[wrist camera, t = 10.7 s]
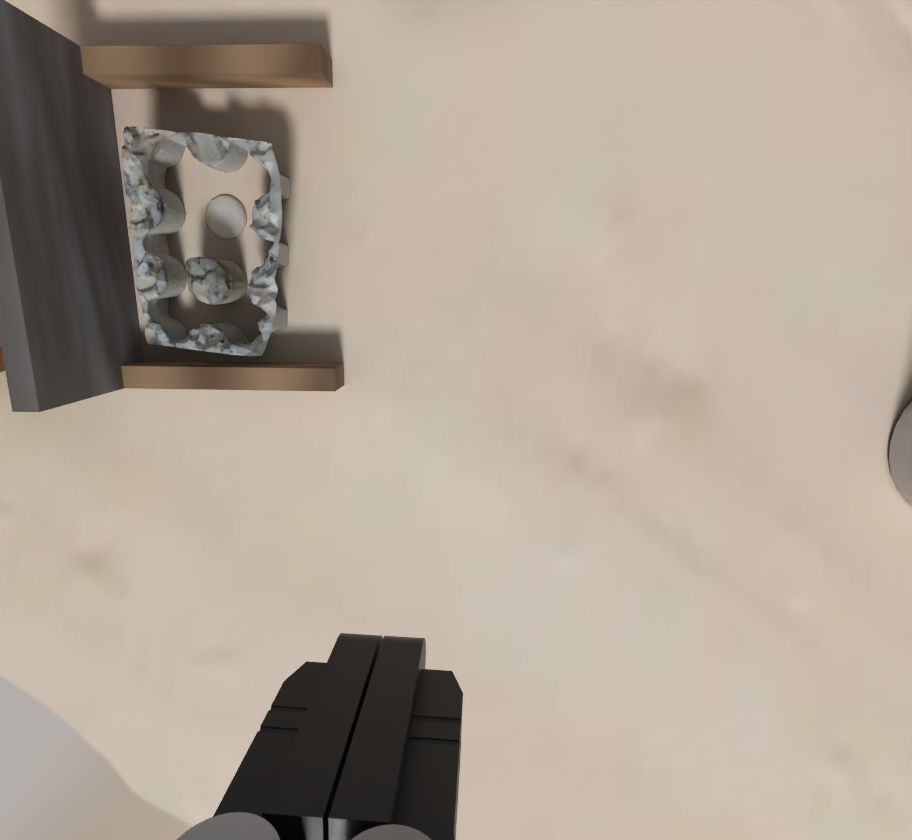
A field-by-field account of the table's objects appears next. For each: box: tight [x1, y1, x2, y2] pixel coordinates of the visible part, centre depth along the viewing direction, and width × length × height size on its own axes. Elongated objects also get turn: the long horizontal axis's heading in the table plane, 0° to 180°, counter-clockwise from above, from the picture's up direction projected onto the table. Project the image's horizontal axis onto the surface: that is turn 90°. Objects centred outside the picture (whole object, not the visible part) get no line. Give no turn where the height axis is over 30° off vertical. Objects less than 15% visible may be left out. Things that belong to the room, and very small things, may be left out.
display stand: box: [0, 0, 344, 412], centre depth 26 cm, size 13×16×8 cm
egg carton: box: [122, 126, 290, 356], centre depth 29 cm, size 11×8×4 cm
